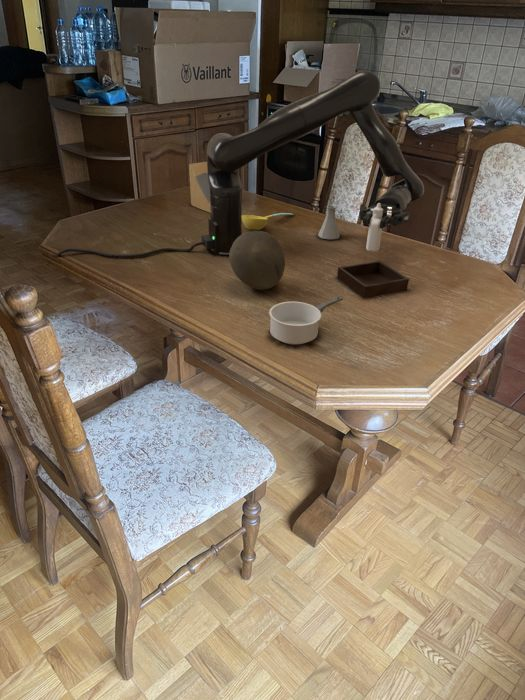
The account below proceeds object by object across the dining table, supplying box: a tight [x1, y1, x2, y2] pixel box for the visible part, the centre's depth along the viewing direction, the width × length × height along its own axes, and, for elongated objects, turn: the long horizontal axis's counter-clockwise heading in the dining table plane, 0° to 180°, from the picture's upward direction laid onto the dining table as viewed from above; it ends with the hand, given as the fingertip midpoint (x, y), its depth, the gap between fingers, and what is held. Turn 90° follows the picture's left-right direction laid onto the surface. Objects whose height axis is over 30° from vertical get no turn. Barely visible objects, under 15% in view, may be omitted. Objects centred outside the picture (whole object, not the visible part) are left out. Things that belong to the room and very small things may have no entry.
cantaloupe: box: [228, 230, 286, 291], centre depth 138 cm, size 14×14×15 cm
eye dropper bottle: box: [365, 203, 383, 253], centre depth 139 cm, size 4×6×12 cm
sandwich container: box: [188, 161, 210, 213], centre depth 197 cm, size 9×15×15 cm, turn 42°
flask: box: [317, 204, 341, 240], centre depth 175 cm, size 7×7×10 cm
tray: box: [336, 260, 410, 299], centre depth 145 cm, size 14×14×3 cm
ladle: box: [242, 212, 294, 231], centre depth 186 cm, size 9×26×6 cm, turn 142°
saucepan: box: [268, 296, 344, 345], centre depth 122 cm, size 12×20×6 cm, turn 127°
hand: (373, 223), depth 136 cm, fingers closed on eye dropper bottle, 3 cm apart
